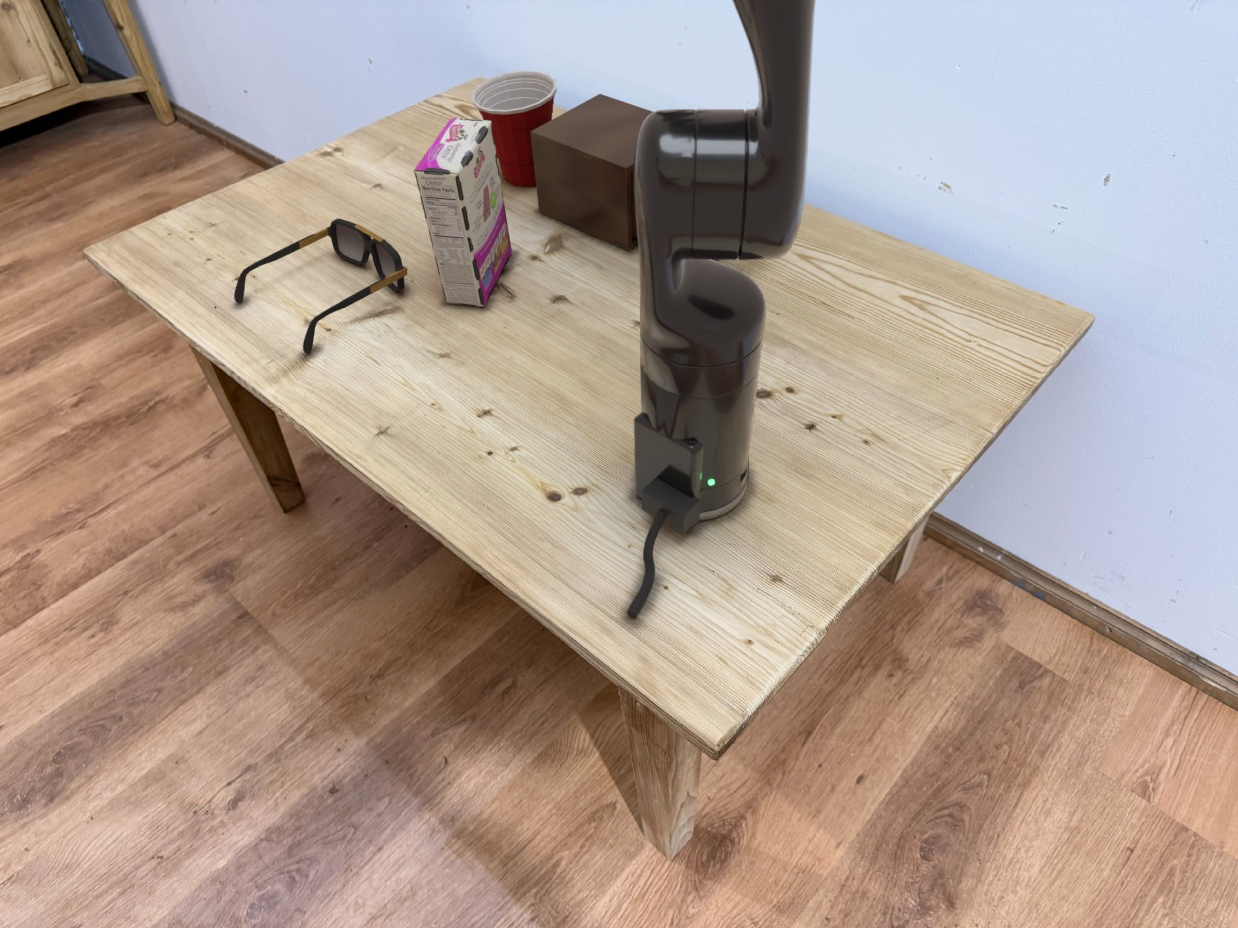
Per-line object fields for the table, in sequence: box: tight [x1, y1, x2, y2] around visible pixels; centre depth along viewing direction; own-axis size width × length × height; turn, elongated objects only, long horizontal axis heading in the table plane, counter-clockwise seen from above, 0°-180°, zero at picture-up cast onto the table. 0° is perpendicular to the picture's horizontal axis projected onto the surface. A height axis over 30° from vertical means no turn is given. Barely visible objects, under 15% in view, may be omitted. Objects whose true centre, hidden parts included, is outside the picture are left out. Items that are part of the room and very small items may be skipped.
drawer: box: [631, 170, 638, 239], centre depth 98 cm, size 18×11×9 cm, turn 50°
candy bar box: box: [413, 117, 513, 308], centre depth 92 cm, size 11×5×16 cm, turn 168°
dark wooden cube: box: [531, 93, 654, 252], centre depth 103 cm, size 15×13×11 cm
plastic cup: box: [471, 70, 558, 188], centre depth 109 cm, size 11×11×12 cm
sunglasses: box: [233, 218, 408, 355], centre depth 94 cm, size 14×15×5 cm
